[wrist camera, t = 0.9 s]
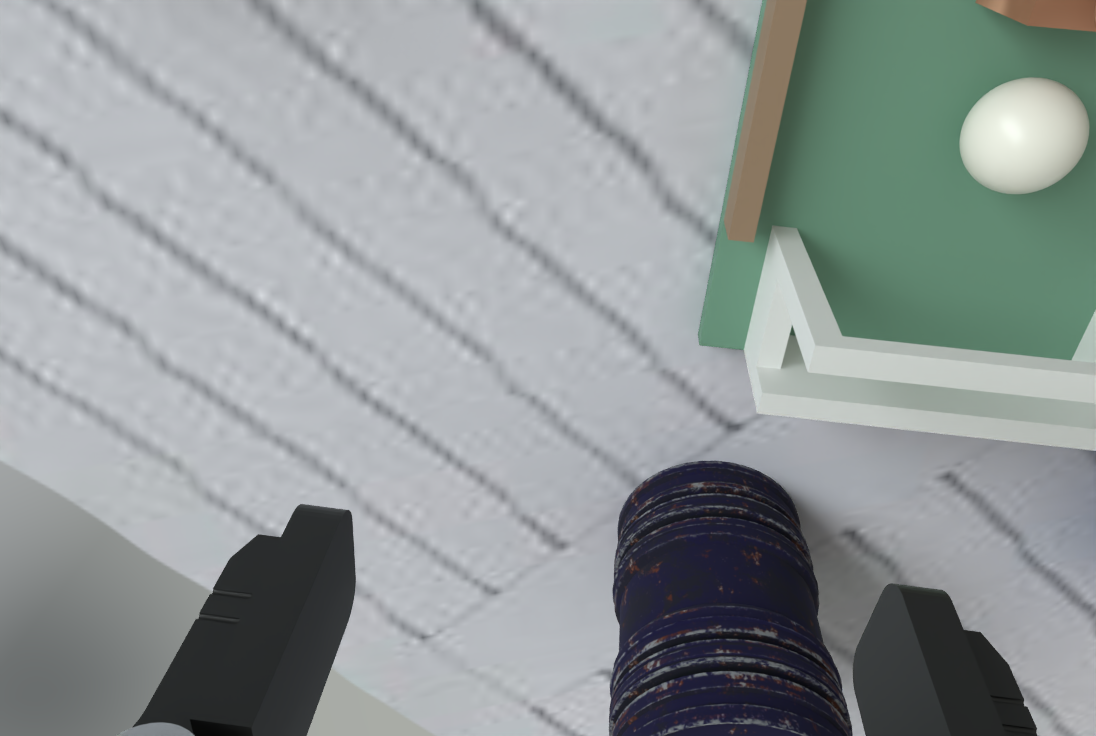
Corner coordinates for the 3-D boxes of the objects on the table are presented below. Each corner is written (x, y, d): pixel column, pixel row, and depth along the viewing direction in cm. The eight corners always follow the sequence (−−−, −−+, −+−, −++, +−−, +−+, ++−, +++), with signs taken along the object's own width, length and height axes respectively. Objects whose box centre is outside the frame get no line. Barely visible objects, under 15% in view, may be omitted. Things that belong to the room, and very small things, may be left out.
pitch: (798, -186, 27) (878, -205, 18) (1389, -138, 27) (1780, -134, 17) (698, 334, 38) (716, 485, 29) (1117, 379, 37) (1273, 549, 28)
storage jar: (828, 478, 42) (910, 748, 29) (771, 608, 47) (819, 885, 34) (635, 443, 42) (634, 698, 29) (599, 578, 47) (585, 843, 34)
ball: (965, 61, 30) (1006, 87, 27) (1077, 71, 30) (1133, 99, 26) (930, 167, 32) (964, 204, 29) (1034, 178, 32) (1081, 216, 29)
